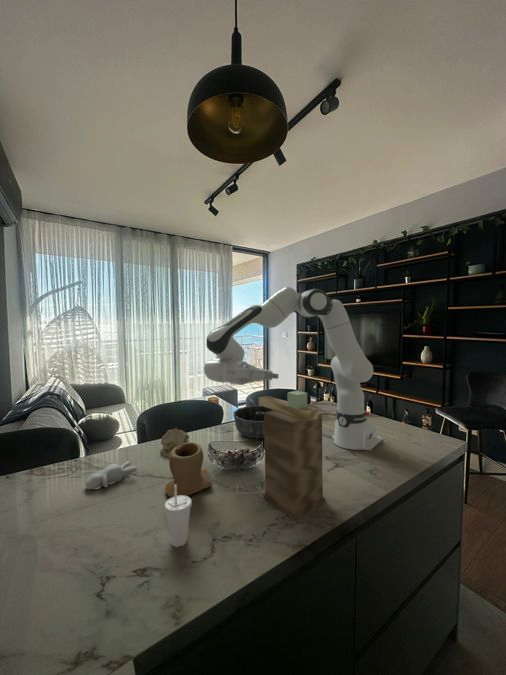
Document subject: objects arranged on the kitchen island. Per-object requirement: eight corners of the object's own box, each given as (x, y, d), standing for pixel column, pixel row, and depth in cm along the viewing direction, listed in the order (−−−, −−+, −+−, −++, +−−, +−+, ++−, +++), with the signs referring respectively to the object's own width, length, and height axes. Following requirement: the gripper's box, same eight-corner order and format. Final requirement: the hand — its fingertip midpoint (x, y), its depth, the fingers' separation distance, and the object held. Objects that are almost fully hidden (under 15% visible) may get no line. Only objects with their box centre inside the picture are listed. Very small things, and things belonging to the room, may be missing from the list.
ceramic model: (154, 456, 120) (153, 431, 120) (167, 445, 131) (167, 423, 131) (186, 458, 117) (185, 434, 117) (197, 447, 128) (196, 424, 127)
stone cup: (173, 508, 85) (172, 457, 84) (161, 489, 95) (160, 443, 94) (220, 491, 93) (219, 444, 93) (205, 475, 103) (204, 433, 103)
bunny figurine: (82, 473, 99) (127, 454, 108) (84, 487, 99) (129, 467, 109) (89, 484, 92) (137, 462, 101) (92, 499, 92) (139, 476, 102)
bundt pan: (296, 429, 148) (296, 409, 148) (270, 447, 126) (270, 424, 126) (252, 420, 162) (251, 403, 162) (222, 436, 140) (221, 415, 140)
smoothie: (168, 533, 75) (167, 478, 74) (194, 531, 75) (192, 477, 75) (163, 552, 68) (161, 493, 68) (191, 550, 69) (189, 491, 68)
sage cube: (297, 403, 88) (297, 390, 88) (307, 406, 85) (307, 392, 85) (287, 406, 86) (287, 392, 86) (297, 409, 83) (297, 395, 82)
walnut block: (293, 483, 97) (292, 405, 96) (325, 501, 87) (324, 414, 86) (263, 497, 89) (261, 412, 88) (293, 519, 79) (292, 423, 78)
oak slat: (266, 403, 99) (266, 395, 99) (317, 418, 82) (317, 409, 82) (258, 404, 97) (258, 397, 97) (308, 421, 80) (308, 412, 80)
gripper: (223, 362, 104) (256, 364, 97) (254, 366, 121) (284, 368, 114) (222, 380, 103) (255, 384, 96) (253, 381, 120) (283, 385, 113)
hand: (271, 375), depth 105 cm, fingers open, 8 cm apart
